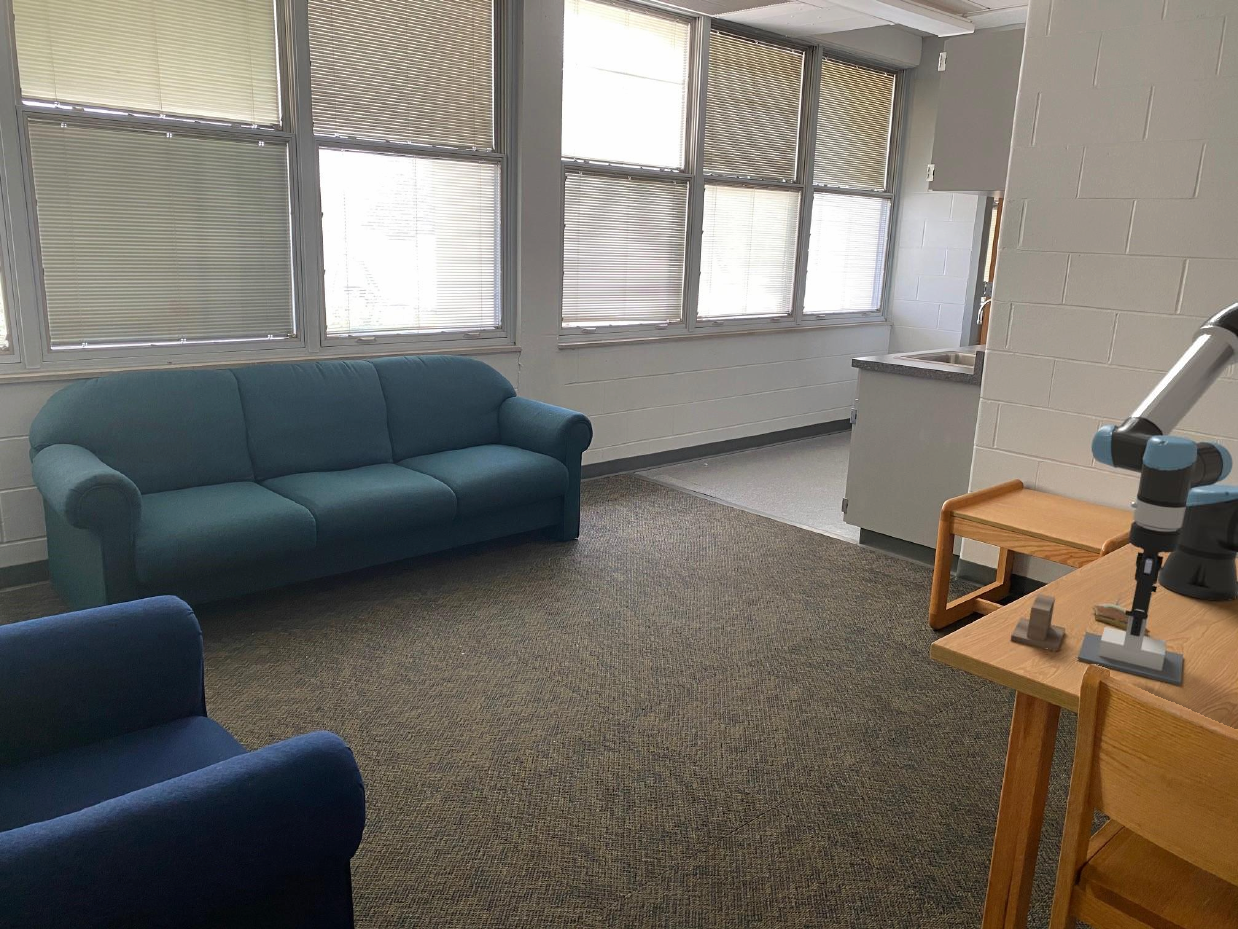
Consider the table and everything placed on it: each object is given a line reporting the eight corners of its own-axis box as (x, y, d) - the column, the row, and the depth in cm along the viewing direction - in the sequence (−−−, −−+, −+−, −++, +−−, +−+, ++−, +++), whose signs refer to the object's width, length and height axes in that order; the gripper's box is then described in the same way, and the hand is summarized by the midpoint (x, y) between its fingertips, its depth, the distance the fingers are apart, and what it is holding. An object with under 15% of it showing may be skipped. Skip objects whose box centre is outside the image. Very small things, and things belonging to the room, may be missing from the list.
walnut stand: (1020, 622, 182) (1025, 589, 180) (1064, 632, 178) (1070, 598, 176) (1010, 640, 173) (1016, 605, 172) (1057, 651, 169) (1063, 616, 168)
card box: (1163, 656, 168) (1166, 641, 167) (1161, 670, 162) (1164, 655, 161) (1102, 641, 173) (1104, 626, 172) (1098, 655, 167) (1100, 640, 166)
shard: (1149, 638, 177) (1150, 630, 177) (1107, 635, 178) (1109, 627, 178) (1124, 615, 188) (1126, 607, 187) (1085, 612, 189) (1087, 604, 188)
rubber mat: (1077, 660, 166) (1077, 657, 166) (1085, 634, 177) (1086, 632, 177) (1180, 685, 158) (1180, 682, 158) (1182, 657, 169) (1183, 654, 169)
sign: (1136, 594, 198) (1125, 615, 186) (1135, 598, 198) (1124, 619, 186) (1109, 588, 201) (1097, 609, 189) (1108, 592, 201) (1096, 612, 189)
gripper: (1137, 504, 173) (1117, 609, 179) (1126, 539, 153) (1104, 657, 158) (1183, 512, 170) (1161, 619, 175) (1178, 549, 149) (1154, 669, 154)
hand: (1134, 637), depth 167 cm, fingers open, 13 cm apart
